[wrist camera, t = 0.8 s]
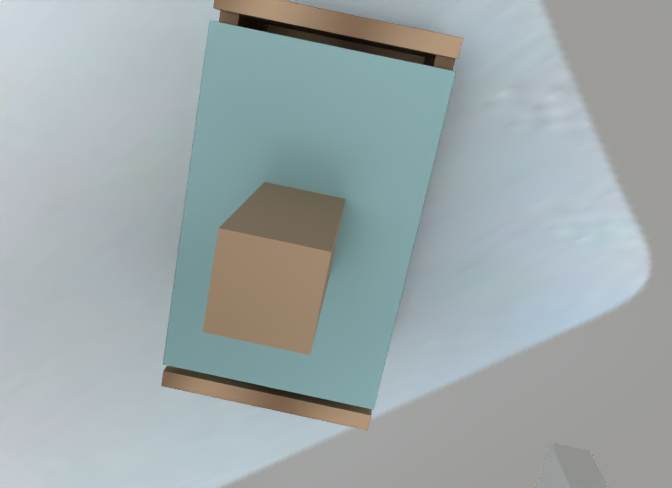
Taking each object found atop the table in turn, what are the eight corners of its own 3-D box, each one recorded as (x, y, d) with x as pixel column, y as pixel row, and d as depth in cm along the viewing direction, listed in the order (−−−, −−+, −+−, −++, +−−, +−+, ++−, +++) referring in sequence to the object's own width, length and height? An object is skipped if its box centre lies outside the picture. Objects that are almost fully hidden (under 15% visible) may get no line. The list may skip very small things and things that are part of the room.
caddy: (211, 313, 39) (161, 386, 30) (258, 7, 34) (216, -14, 25) (370, 347, 39) (367, 430, 30) (442, 45, 34) (463, 37, 25)
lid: (172, 350, 31) (86, 468, 22) (218, 22, 27) (135, 1, 18) (373, 393, 31) (370, 529, 22) (452, 71, 27) (488, 74, 18)
